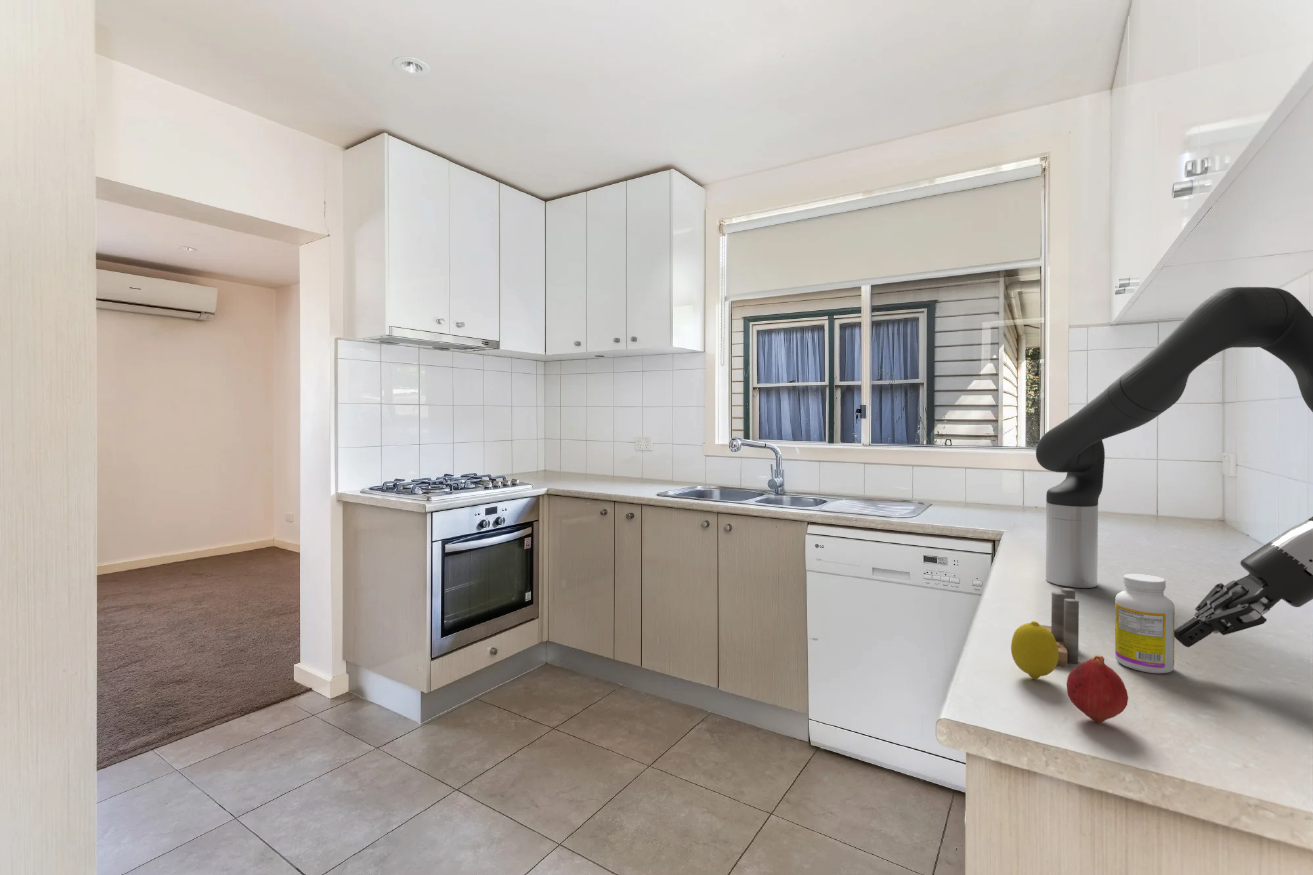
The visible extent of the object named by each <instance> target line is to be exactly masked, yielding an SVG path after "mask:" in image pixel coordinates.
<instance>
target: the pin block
mask: <svg viewBox="0 0 1313 875" xmlns="http://www.w3.org/2000/svg"><path fill="white" fill-rule="evenodd" d="M1060 590H1061V591H1058V592H1057V591H1052V592H1051V617H1050V618H1051V626H1050V625H1045V624H1041V625H1042V626H1044V627H1045V628H1047V629H1048V630H1049V631H1050V632H1051V633H1052V634H1053V636H1054V638H1055V640H1056V642H1057V646H1058V652H1059V657H1058V663H1057V665H1056V666H1060V667H1061V666H1062V667H1065V666H1067V667H1068V663H1069V662H1071V663H1070V664H1078V663H1079V634H1080V632H1079V631H1080V630H1079V628H1080V626H1079V625H1080V624H1079V622H1080V621H1079V620H1080V619H1079V618H1080V617H1079V614H1080V612H1079V610H1080V609H1079V608H1080V601H1079V600H1077V599H1076V590H1075V589H1073V588H1070V587H1064V588H1063V587H1062V588H1061V589H1060Z"/></svg>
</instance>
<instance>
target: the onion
mask: <svg viewBox="0 0 1313 875" xmlns="http://www.w3.org/2000/svg"><path fill="white" fill-rule="evenodd" d="M1066 678H1067V679H1066V683H1065V684H1066V690H1067V691H1066V692H1067V696H1068V698H1069V700H1070V701H1071V704H1073V705H1074V706H1075V708H1076V709H1078V710H1079V711H1080V712H1082V714H1084V715H1085V716H1087V717H1089V719H1091V720H1092V721H1093V722H1095V723H1099V724H1101V723H1103V722H1105V721H1107V720H1109V719H1112V718H1115V717H1117V716H1118V715H1120V714H1121V713H1122V712H1124V710H1126V708H1127V706H1128V703H1129V696H1128V691H1127V688H1126V686H1125V682H1124V681H1123V679H1122V678H1121V677H1120V675H1119V674H1118V673H1117V672H1116V671H1115V670H1114V669H1112V668H1111V667H1109V666H1108V665H1107V664H1105V658H1104V655H1100V654H1097V655H1094V656H1093V657H1091V658H1089V659H1088V660H1085V661H1082V662H1081V663H1079V664H1078V665H1076V666H1075V667H1073V668H1072V669H1071V671H1070V672H1069V673H1068V676H1067V677H1066Z"/></svg>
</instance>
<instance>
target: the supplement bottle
mask: <svg viewBox="0 0 1313 875" xmlns="http://www.w3.org/2000/svg"><path fill="white" fill-rule="evenodd" d="M1122 583H1123V585H1124V587H1125V590H1122V591H1119V592H1118V593H1117V594H1116V596H1115V598H1114V602H1115V603H1114V604H1115V605H1114V606H1115V607H1114V609H1115V610H1114V612H1115V613H1114V616H1115V618H1114V624H1115V626H1114V628H1115V629H1114V632H1115V633H1114V638H1115V640H1114V641H1115V643H1114V653H1115V654H1114V655H1115V659H1116V661H1117V662H1118V663H1119V664H1121V665H1122V666H1124V667H1127V668H1130V669H1133V670H1136V671H1138V672H1144V673H1147V674H1149V673H1150V674H1169V673H1171V672H1173V670H1174V668H1175V637H1174V630H1175V614H1176V613H1175V604H1174V601H1172V599H1170V597H1168V596H1167V595H1164V594H1165V590H1166V587H1167V586H1166V584H1167V583H1166V580H1165V579H1164V578H1162V577H1159V576H1156V575H1149V574H1143V573H1126V574H1124V575H1123V582H1122Z"/></svg>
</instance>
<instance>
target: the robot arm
mask: <svg viewBox="0 0 1313 875" xmlns="http://www.w3.org/2000/svg"><path fill="white" fill-rule="evenodd" d="M1232 348H1261V349H1263V350H1264V351H1265V352H1268V353H1270V355H1271V354H1272V356H1274V357H1275V358H1277V359H1279V360H1280V361H1282V362H1283V363H1284V364H1285V365H1286V366H1287V367H1288V368H1289V369H1290V370H1291V371H1292V373H1293V375H1294V376H1295V378H1296V381H1297V385H1298V388H1299V391H1300V392H1299V393H1300V394H1301V397H1302V398H1303V401H1304V402H1305V404H1306V406H1307V407H1308V408H1309V410H1310V411H1311V412H1312V413H1313V314H1312V313H1311V312H1310V311H1309V310H1308V309H1307V307H1306V306H1305V305H1304V304H1303V303H1302V302H1301V301H1300V300H1299V299H1298V298H1297V297H1296V296H1295V295H1294V294H1292V293H1291V292H1289V291H1288V290H1285V289H1283V288H1278V287H1270V286H1269V287H1267V286H1235V287H1228V288H1227V287H1226V288H1223V289H1220V290H1217V291H1215V292H1213V293H1212V294H1210V295H1209V296H1208V297H1206V298H1205V299H1204V300H1202V301H1201V302H1200V303H1199V304H1198V305H1196V307H1195V308H1194V309H1192V311H1191V312H1190V313H1189V314H1188V315H1187V316H1186V317H1184V319H1182V321H1181V322H1180V323H1179V324H1178V325H1177V326H1176V328H1174V330H1173V331H1172V332H1171V333H1170V334H1169V335H1168V336H1166V337H1165V339H1163V341H1161V342H1160V343H1159V344H1158V345H1157V346H1155V347H1154V348H1153V349H1152V350H1151V351H1150V352H1148V353H1147V354H1146V355H1145V356H1144V357H1143V358H1141V360H1139V361H1138V362H1137V363H1135V365H1133V366H1132V367H1130V368H1129V369H1127V370H1126V371H1125V372H1124V373H1123V374H1121V376H1119V377H1118V378H1117V379H1115V380H1114V381H1113V382H1112V383H1110V385H1109V386H1107V387H1106V388H1105V389H1104V390H1103V391H1102V392H1100V393H1099V394H1098V395H1097V396H1096V397H1094V398H1093V399H1092V400H1091V401H1089V402H1088V403H1087V404H1085V405H1084V406H1083V407H1082V408H1081V409H1079V410H1078V411H1077V412H1076V413H1074V414H1073V415H1072V416H1069V418H1066V419H1065V420H1064V421H1062V422H1061V423H1059V424H1057V425H1055V426H1054V427H1052V428H1051V429H1049V430H1048V431H1047V432H1046V433H1044V435H1042V436H1041V438H1040V439H1039V441H1038V444H1037V445H1036V450H1035V458H1036V461H1037V462H1038V465H1039V466H1040V467H1042V468H1043V469H1045V470H1047V471H1049V472H1054V473H1066V477H1065V479H1064V480H1063V481H1061V483H1059V484H1056V485H1055V486H1053V487H1050V488H1049V489H1047V491H1046V497H1045V499H1046V500H1045V501H1046V504H1045V506H1046V508H1045V510H1046V514H1045V515H1046V516H1045V518H1046V519H1045V520H1046V522H1045V526H1046V527H1045V580H1046V582H1048V583H1051V584H1054V585H1057V586H1063V587H1067V588H1077V589H1078V588H1080V589H1081V588H1082V589H1089V588H1095V587H1097V586H1098V560H1099V558H1098V557H1099V556H1098V555H1099V554H1098V553H1099V552H1098V550H1099V549H1098V548H1099V544H1098V543H1099V498H1100V497H1101V496H1100V495H1101V493H1102V491H1103V486H1104V485H1103V484H1104V474H1105V473H1104V472H1105V456H1106V453H1105V444H1104V442H1103V440H1105V439H1108V438H1112V437H1113V436H1117V435H1120V434H1123V433H1126V432H1128V431H1131V430H1134V429H1136V428H1139V427H1142V426H1144V425H1145V424H1147V423H1149V422H1151V421H1152V420H1154V419H1156V418H1157V417H1159V416H1160V415H1161V414H1163V413H1164V412H1166V411H1167V410H1168V409H1170V408H1171V407H1172V406H1174V405H1175V404H1176V403H1177V402H1178V401H1179V400H1180V398H1181V397H1182V395H1183V394H1184V391H1185V389H1186V387H1187V383H1188V379H1189V376H1190V375H1191V373H1192V372H1193V371H1194V370H1196V369H1197V368H1198V367H1199V366H1201V365H1202V364H1204V363H1205V362H1206V361H1208V360H1209V359H1211V358H1213V357H1214V356H1216V355H1217V354H1219V353H1220V352H1222V351H1225V350H1227V349H1232ZM1239 565H1240V566H1241V567H1242V568H1243V569H1244V570H1246V571H1247V573H1248V574H1247V575H1245V576H1244V577H1241V578H1239V579H1237V580H1231V581H1229V582H1228V583H1227V584H1225V585H1224V584H1223V583H1222V582H1220V583H1217V584H1215V585H1214V587H1212V589H1211V590H1210V591H1209V592H1208V593H1207V594H1206V596H1205V597H1204V598H1203V599H1202V600H1201V601H1200V602H1199V604H1198V605H1197V606H1196V607H1195V608H1194V609H1195V611H1196V612H1195V613H1194V615H1193V616H1194V617H1192V618H1191V619H1190V620H1187V621H1186V622H1185V623H1183V624H1181V625H1180V626H1178V627H1177V628H1174V639H1176V640H1177V641H1178V642H1179V643H1181V645H1183V646H1184V647H1186V648H1190V647H1192V646H1193V645H1196V644H1197V643H1198V642H1200V641H1202V640H1204V639H1205V638H1207V637H1208V636H1209V635H1211V634H1214V635H1217V634H1219V633H1220V634H1221V635H1222V636H1226V635H1230V634H1233V633H1237V632H1240V631H1243V630H1247V629H1251V628H1253V627H1257V626H1261V625H1264V624H1265V623H1266V622H1267V620H1268V619H1267V618H1266V617H1264V615H1265V614H1267V613H1268V612H1269V611H1270V610H1271V608H1273V607H1274V606H1275V605H1276V604H1277V603H1279V602H1280V601H1281V600H1283V601H1284V602H1285V603H1286V604H1288V605H1290V606H1292V607H1294V608H1300V607H1302V606H1304V605H1306V604H1307V603H1309V602H1310V601H1313V516H1311V517H1310V518H1308V519H1306V520H1305V521H1303V522H1301V523H1299V524H1297V525H1294V526H1293V527H1291V528H1288V529H1287V530H1286V531H1284V532H1282V533H1281V534H1278V536H1276V537H1275V538H1273V539H1272V540H1270V541H1268V542H1267V543H1265V544H1264V545H1263V546H1260V547H1259V548H1258V549H1256V550H1255V551H1253V552H1252V553H1251V554H1249V555H1247V556H1246V557H1245V558H1243V559H1241V561H1240V562H1239Z"/></svg>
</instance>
